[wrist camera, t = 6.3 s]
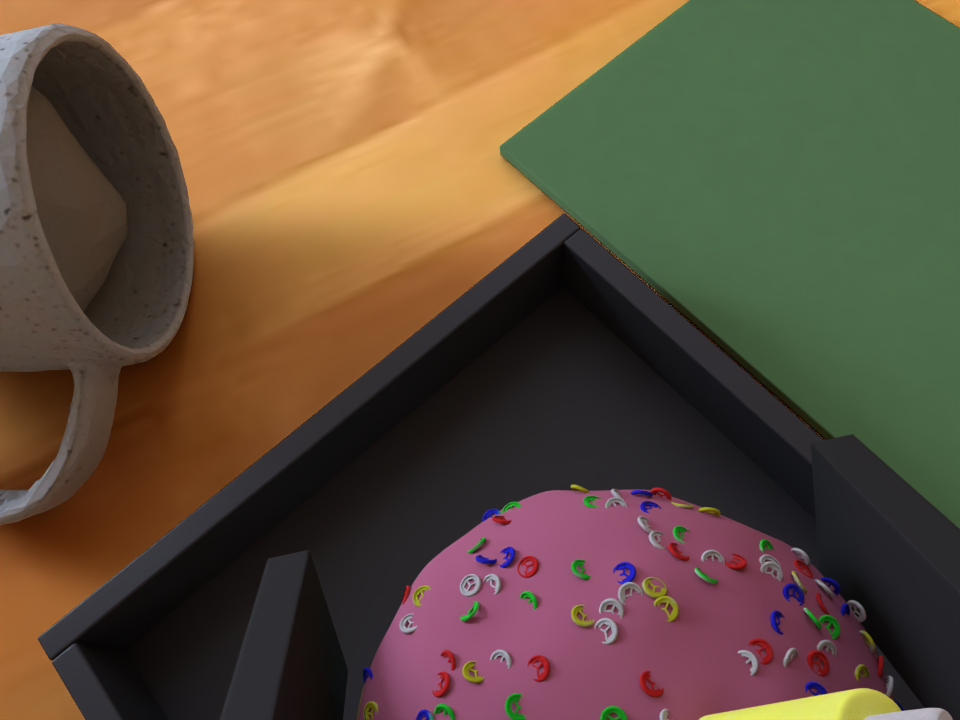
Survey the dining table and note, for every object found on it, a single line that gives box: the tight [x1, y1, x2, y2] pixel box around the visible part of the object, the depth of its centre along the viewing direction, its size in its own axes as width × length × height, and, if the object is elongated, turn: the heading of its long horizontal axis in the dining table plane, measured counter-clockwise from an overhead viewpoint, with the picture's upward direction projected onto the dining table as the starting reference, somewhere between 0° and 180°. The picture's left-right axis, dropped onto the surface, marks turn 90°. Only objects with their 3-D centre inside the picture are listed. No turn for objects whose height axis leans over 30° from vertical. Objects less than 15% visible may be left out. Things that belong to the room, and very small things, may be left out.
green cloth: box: [500, 0, 960, 529], centre depth 22 cm, size 20×12×1 cm, turn 41°
